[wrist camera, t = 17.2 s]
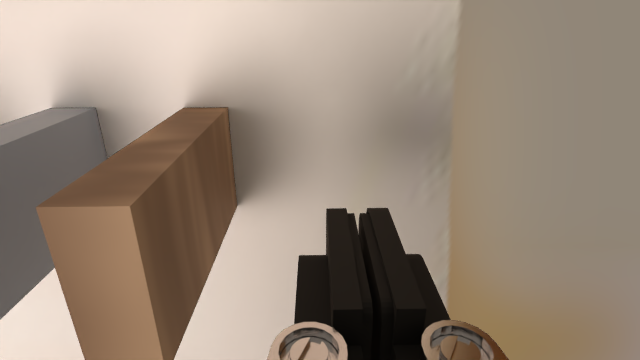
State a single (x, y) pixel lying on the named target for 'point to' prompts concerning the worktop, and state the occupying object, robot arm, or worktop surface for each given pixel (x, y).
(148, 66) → the worktop surface
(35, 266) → the gap domino
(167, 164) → the domino
